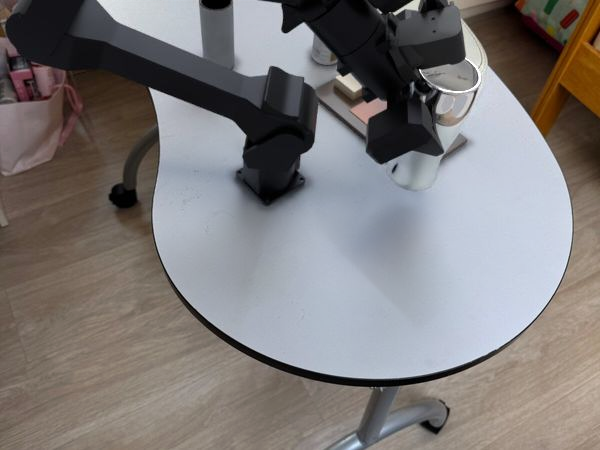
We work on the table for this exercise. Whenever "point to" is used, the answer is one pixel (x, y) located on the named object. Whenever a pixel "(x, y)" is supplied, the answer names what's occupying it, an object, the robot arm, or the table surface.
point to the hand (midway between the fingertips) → (438, 131)
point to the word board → (358, 106)
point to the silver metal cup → (437, 119)
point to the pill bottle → (322, 53)
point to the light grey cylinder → (217, 31)
